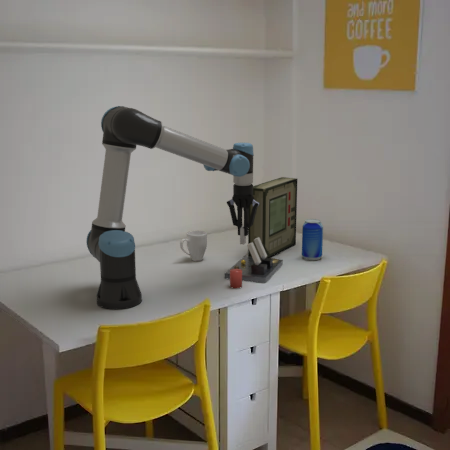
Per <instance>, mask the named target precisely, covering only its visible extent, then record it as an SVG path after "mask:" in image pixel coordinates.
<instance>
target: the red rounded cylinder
mask: <svg viewBox="0 0 450 450" xmlns="http://www.w3.org/2000/svg"><path fill="white" fill-rule="evenodd" d="M229 287H230V288H231V287H233V288H232V289H241V288H243V280H242V270H241V269H231V270H230V279H229ZM240 287H241V288H240Z"/></svg>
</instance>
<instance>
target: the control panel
mask: <svg viewBox="0 0 450 450" xmlns="http://www.w3.org/2000/svg"><path fill="white" fill-rule="evenodd" d="M253 197H254V200H255V201H256V202H259V203H260V205H259V206H258V207H257V211H256V215H255V219H254V223H253V225H252V226H251V227H248V235H247V237H248V238H247V239H248V241H247V245H248V244H249V243H252V242H253V244H254V246H255V248H256V251H257V253H258V255H259V257H261V256H260V253H259V251H258V249H257V247H256V244H255V242H254V239H255V238H258V237H259V238H260V240H261V243H262V245H263V247H264V249H265V252H266V254H267V257H266V258H273V257H276V256H277V255H279V254H281V253H283V252H285V251H287V250H289V249H290V248H292V247H294V246H296V243H297V242H296V241H297V211H298V210H297V208H298V207H297V206H298V205H297V204H298V203H297V202H298V178H297V177H296V178H295V177H285V176H281V177H278V178H276V179H275V178H274V179H272V180H269V181H268V180H267V181H266V182H262V183H258V184H256V185H253ZM252 208H253V203H252V204H251V205H250V206H249V220H250V216H251V212H252ZM247 256H250V257H252V255H251V253H250V251H249V248H248V247H247Z"/></svg>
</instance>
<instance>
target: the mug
mask: <svg viewBox="0 0 450 450" xmlns="http://www.w3.org/2000/svg"><path fill="white" fill-rule="evenodd" d="M184 241H186V247H187V251H188V252H187V251H186V250H185V249H184V247H183V243H184ZM207 245H208V233H207V231H204V230H191V231H188V232H187V233H186V238H182V239H181V240H180V243H179V246H180V249H181V250H182V252H183V253H185V254H186V255H187V256H190V259H191V261H194V262H201V261H202V260H203V258H204V256H205V253H206V250H207V247H208V246H207Z"/></svg>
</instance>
